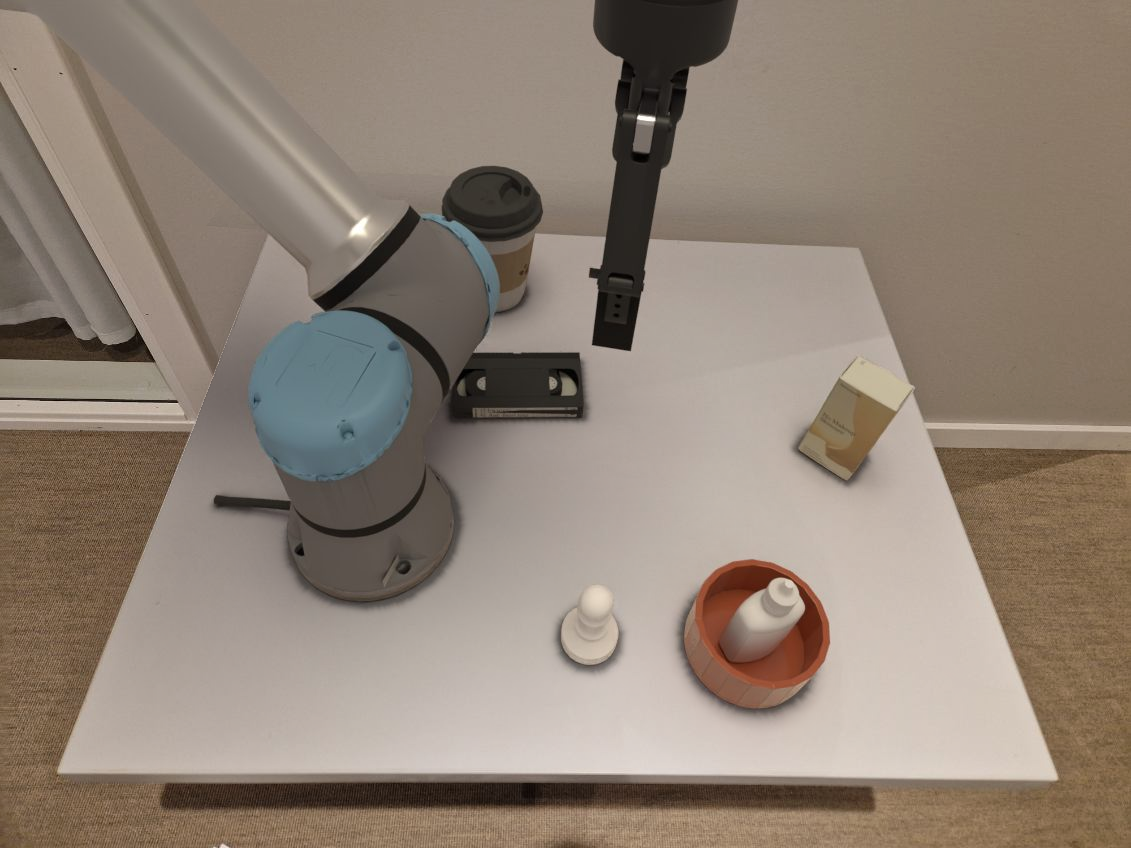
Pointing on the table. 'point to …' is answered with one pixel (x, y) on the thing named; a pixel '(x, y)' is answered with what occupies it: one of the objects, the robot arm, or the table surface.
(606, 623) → the chess pawn
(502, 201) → the coffee cup
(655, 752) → the table surface
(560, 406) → the vhs tape
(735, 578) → the crock
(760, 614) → the eye dropper bottle
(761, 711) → the table surface
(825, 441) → the cosmetic box
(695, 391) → the table surface
